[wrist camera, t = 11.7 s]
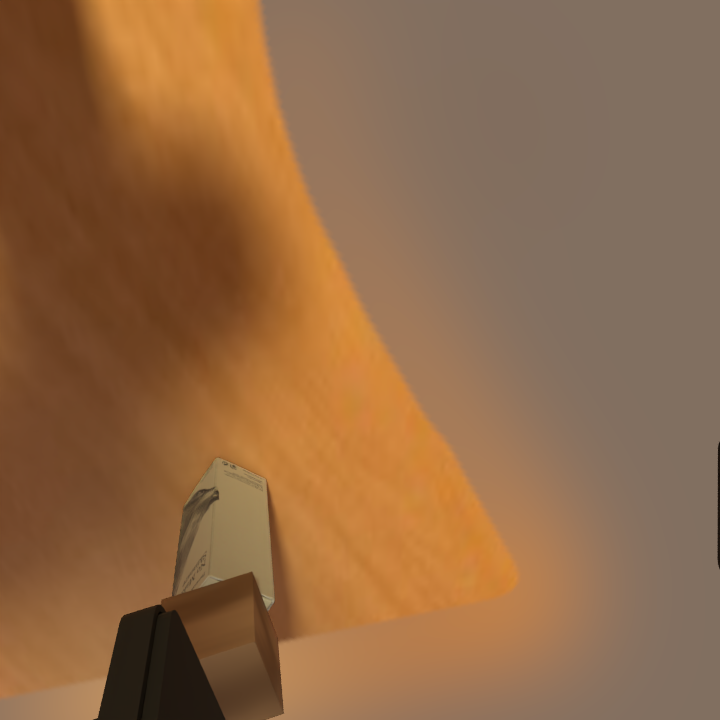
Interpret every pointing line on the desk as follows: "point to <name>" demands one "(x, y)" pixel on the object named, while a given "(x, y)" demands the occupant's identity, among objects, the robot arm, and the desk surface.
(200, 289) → the desk surface
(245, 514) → the box
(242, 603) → the walnut cube
